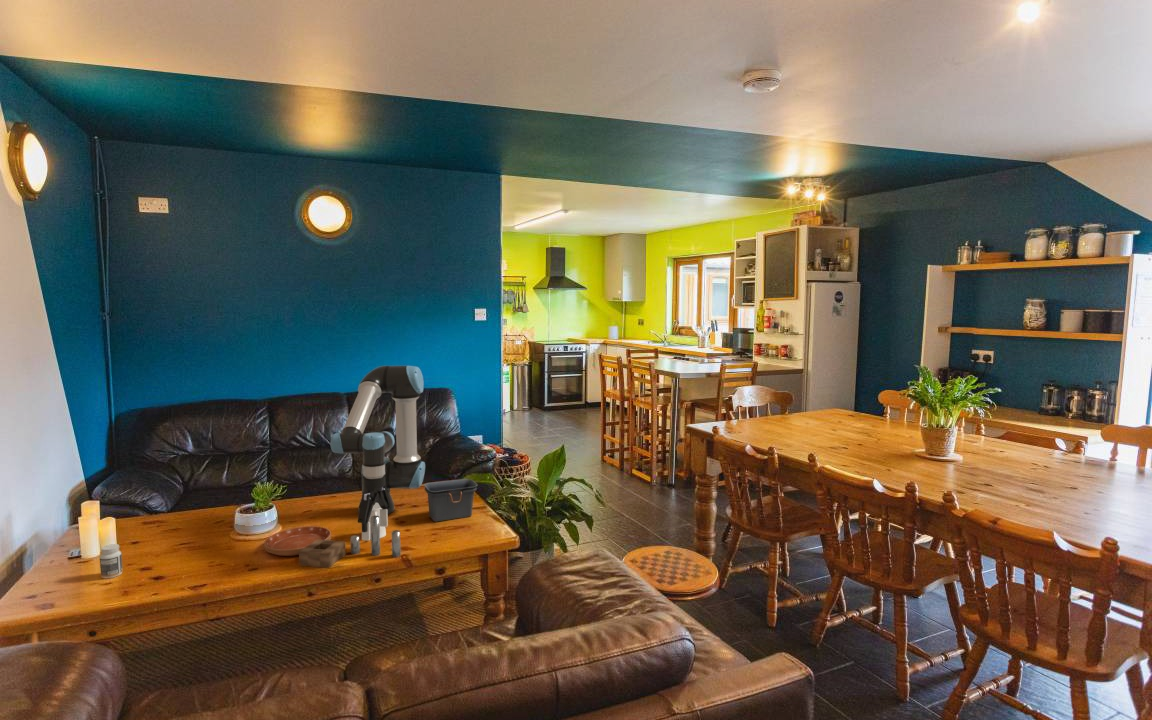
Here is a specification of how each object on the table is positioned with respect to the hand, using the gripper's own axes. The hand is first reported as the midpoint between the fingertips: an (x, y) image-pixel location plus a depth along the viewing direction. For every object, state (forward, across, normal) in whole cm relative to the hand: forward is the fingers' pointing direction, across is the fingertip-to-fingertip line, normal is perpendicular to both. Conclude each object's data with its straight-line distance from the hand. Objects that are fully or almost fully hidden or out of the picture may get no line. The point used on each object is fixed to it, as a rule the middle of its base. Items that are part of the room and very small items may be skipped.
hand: (375, 533), depth 217 cm
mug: (+8, -15, -8) cm, 19 cm away
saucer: (+8, -2, -32) cm, 33 cm away
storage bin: (+8, -41, +14) cm, 44 cm away
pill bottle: (+8, +31, -78) cm, 84 cm away
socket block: (+8, +8, -16) cm, 20 cm away
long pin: (+8, 0, 0) cm, 8 cm away
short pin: (+8, 0, -8) cm, 11 cm away
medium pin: (+8, 0, +8) cm, 11 cm away
